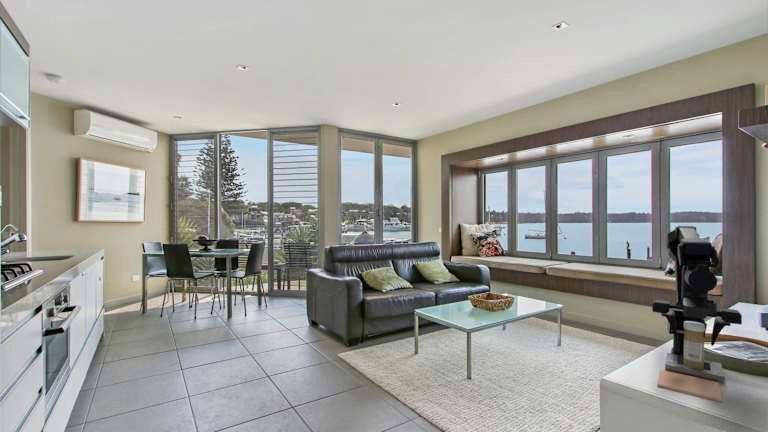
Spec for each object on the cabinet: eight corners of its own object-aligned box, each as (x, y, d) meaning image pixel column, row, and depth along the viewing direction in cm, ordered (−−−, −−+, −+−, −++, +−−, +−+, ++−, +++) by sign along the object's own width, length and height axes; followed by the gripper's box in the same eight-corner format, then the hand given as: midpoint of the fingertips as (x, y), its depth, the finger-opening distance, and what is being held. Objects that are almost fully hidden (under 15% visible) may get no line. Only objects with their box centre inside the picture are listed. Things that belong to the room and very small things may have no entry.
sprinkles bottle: (706, 372, 103) (707, 323, 103) (700, 375, 100) (701, 325, 100) (686, 366, 106) (687, 319, 106) (679, 369, 104) (680, 321, 104)
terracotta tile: (660, 371, 102) (660, 369, 102) (718, 384, 95) (718, 382, 95) (657, 386, 93) (657, 383, 93) (722, 402, 85) (722, 399, 85)
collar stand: (667, 359, 112) (667, 352, 112) (720, 370, 104) (721, 363, 104) (665, 371, 102) (665, 364, 102) (723, 384, 95) (724, 376, 95)
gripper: (651, 285, 103) (650, 341, 103) (744, 295, 91) (743, 359, 91) (654, 280, 112) (653, 332, 112) (740, 289, 100) (738, 347, 100)
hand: (693, 342), depth 103 cm, fingers open, 7 cm apart
